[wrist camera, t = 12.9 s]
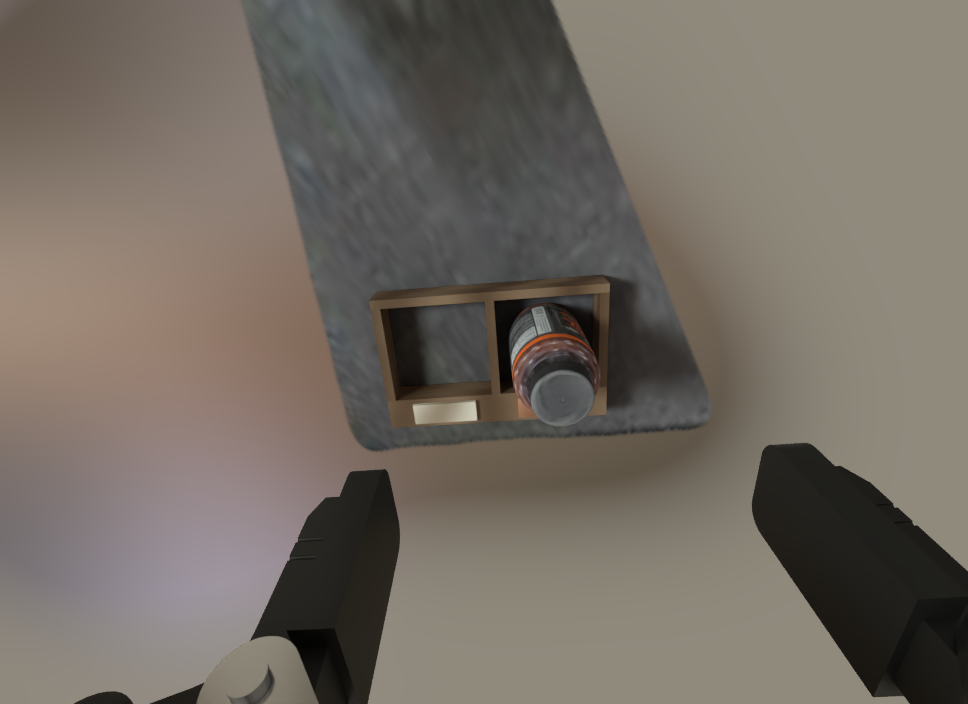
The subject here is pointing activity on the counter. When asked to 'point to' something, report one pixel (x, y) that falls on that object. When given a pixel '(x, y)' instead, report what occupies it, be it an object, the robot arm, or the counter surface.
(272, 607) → the robot arm
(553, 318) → the supplement bottle
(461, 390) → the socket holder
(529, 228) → the counter surface
